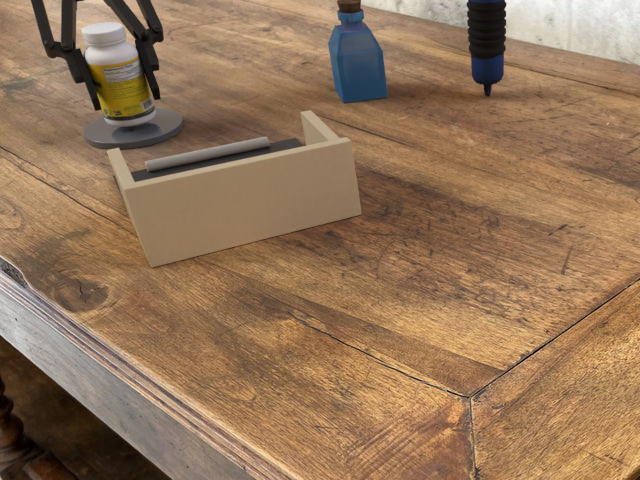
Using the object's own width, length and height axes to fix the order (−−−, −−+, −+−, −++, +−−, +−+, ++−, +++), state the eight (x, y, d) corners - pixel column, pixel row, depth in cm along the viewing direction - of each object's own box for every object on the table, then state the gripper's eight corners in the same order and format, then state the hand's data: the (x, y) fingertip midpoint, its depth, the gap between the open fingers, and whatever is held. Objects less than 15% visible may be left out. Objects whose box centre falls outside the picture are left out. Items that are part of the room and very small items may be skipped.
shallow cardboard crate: (151, 268, 75) (124, 189, 70) (115, 182, 90) (90, 112, 85) (362, 214, 83) (351, 140, 78) (297, 143, 98) (284, 77, 93)
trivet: (91, 156, 96) (89, 150, 95) (79, 124, 104) (77, 118, 103) (193, 136, 100) (191, 130, 100) (173, 107, 108) (172, 101, 108)
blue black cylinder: (505, 82, 115) (502, -77, 102) (525, 99, 109) (525, -66, 96) (452, 89, 113) (442, -72, 100) (470, 108, 107) (462, -60, 94)
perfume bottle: (335, 88, 113) (321, -3, 106) (377, 83, 115) (366, -7, 108) (343, 103, 109) (329, 9, 101) (387, 97, 111) (377, 3, 103)
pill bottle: (104, 115, 102) (73, 24, 95) (154, 107, 104) (127, 17, 97) (107, 131, 98) (74, 37, 91) (159, 123, 100) (132, 30, 93)
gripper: (147, -63, 104) (207, 100, 104) (-17, -46, 97) (47, 129, 96) (142, -105, 97) (207, 69, 97) (-35, -89, 90) (33, 98, 89)
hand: (127, 99), depth 96 cm, fingers closed on pill bottle, 6 cm apart
